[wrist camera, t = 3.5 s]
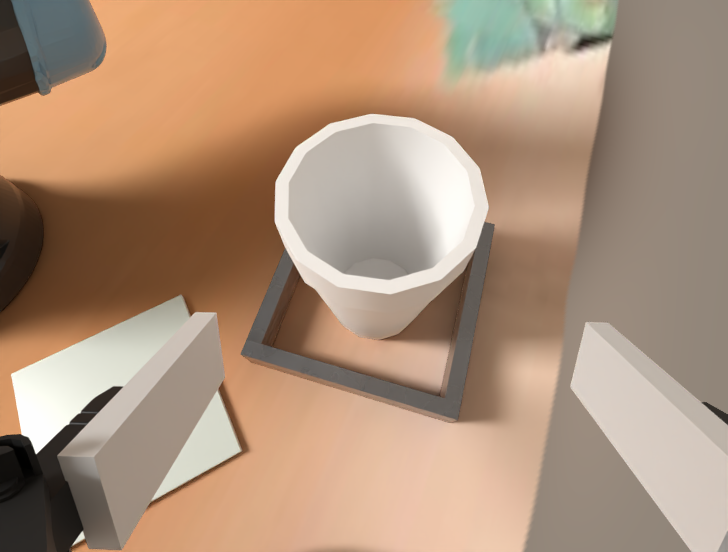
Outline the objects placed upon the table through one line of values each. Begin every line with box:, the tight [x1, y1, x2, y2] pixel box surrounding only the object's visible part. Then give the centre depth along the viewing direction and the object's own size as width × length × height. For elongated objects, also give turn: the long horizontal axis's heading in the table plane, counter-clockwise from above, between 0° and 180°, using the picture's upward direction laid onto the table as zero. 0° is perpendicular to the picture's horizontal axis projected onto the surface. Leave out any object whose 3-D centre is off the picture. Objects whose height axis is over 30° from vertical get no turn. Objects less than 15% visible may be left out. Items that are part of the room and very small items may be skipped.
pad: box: [11, 295, 242, 547], centre depth 26 cm, size 12×12×1 cm
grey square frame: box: [241, 222, 495, 423], centre depth 28 cm, size 14×14×2 cm
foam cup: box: [275, 114, 489, 340], centre depth 23 cm, size 10×9×13 cm
